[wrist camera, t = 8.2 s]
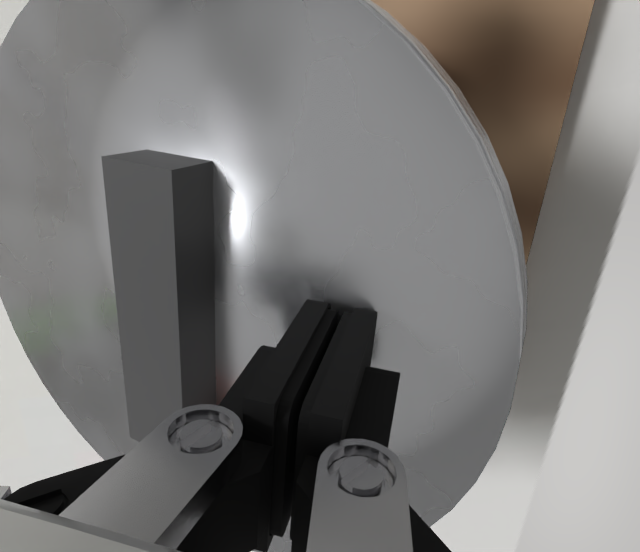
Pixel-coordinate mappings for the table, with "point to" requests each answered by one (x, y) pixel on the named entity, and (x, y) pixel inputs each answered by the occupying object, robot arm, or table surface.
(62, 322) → the cooker lid
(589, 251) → the table surface
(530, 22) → the pressure cooker
